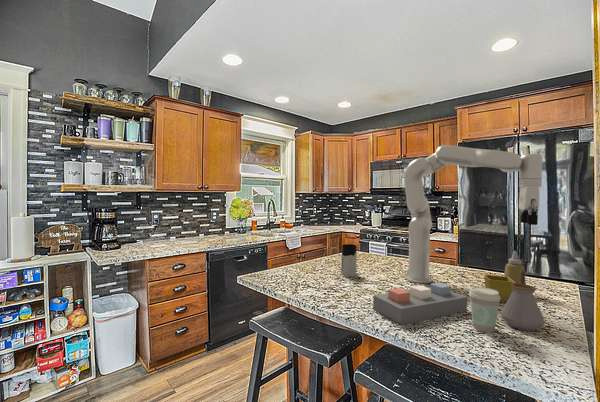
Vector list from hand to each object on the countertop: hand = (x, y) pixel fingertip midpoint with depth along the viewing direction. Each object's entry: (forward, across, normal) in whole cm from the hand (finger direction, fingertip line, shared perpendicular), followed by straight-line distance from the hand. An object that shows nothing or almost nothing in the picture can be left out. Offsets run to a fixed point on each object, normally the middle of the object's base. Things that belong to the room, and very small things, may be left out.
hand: (528, 223), depth 127 cm
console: (+31, +38, -41) cm, 64 cm away
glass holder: (+31, +1, -80) cm, 85 cm away
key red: (+28, +46, -48) cm, 72 cm away
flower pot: (+31, +13, -12) cm, 36 cm away
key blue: (+28, +31, -35) cm, 54 cm away
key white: (+28, +38, -41) cm, 63 cm away
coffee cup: (+31, +46, -23) cm, 60 cm away
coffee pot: (+31, +34, -10) cm, 47 cm away
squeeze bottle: (+31, -2, -4) cm, 31 cm away
